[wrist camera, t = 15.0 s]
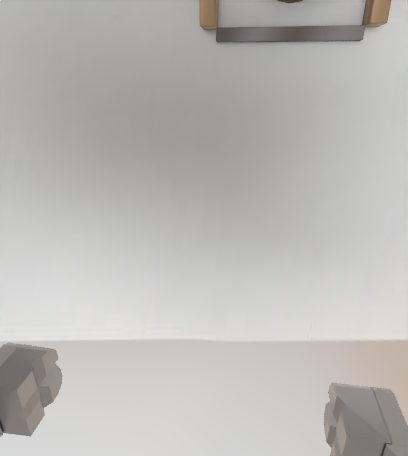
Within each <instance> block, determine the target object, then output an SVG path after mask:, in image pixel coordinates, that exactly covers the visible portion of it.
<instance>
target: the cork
mask: <svg viewBox="0 0 408 456" xmlns="http://www.w3.org/2000/svg"><path fill="white" fill-rule="evenodd" d="M278 1H281V2H286V3H293V2H300V1H302V0H278Z"/></svg>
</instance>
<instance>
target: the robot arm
mask: <svg viewBox="0 0 408 456" xmlns="http://www.w3.org/2000/svg"><path fill="white" fill-rule="evenodd" d="M57 360H58V355H57V352H56V350H54V349H50V348H44V347H37V346H31V345H22V344H15V343H7V344H4V345H3V346H2V347H1V348H0V436H2V435H3V433H9V434H17V435H25V436H31V435H32V434H33V432H34V430H35V429H36V427H37V426H38V424H39V423H40V421H41V420H42V418H43V416H44V407H46V406H47V405H49V404H51V403H52V402H53V401H54V399H55V398H56V396H57V394H58V393H59V389H60V387H61V384H62V373H61V369H60V368H59V367H58V366H57V365H56V364H55V362H56V361H57ZM328 393H329V398H330V402H328V403H327V404H326V408H325V413H324V427H325V435H326V441H327V443H328V444H329V445H330V447H331V448H332V450H331V455H330V456H408V426H407V423H406V421H405V419H404V416H403V414H402V411H401V409H400V407H399V404H398V402H397V400H396V397H395V395H394V393H393V392H392V391H391V390H390V389H384V388H383V389H382V388H374V387H367V386H358V385H349V384H339V383H331V385H330V388H329V392H328Z"/></svg>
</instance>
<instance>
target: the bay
mask: <svg viewBox="0 0 408 456" xmlns="http://www.w3.org/2000/svg"><path fill="white" fill-rule="evenodd" d="M390 5H391V0H366V5H365V11H364V17H363V23H362V25H360V26H298V27H237V28H218V0H200V26H201V27H202V28H203V29H204V30H205V29H217V35H216V41H217V42H287V41H360V40H363V35H364V29H365V27H378V26H380V25H382V24H385V23H387V21H388V15H389V10H390Z"/></svg>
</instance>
